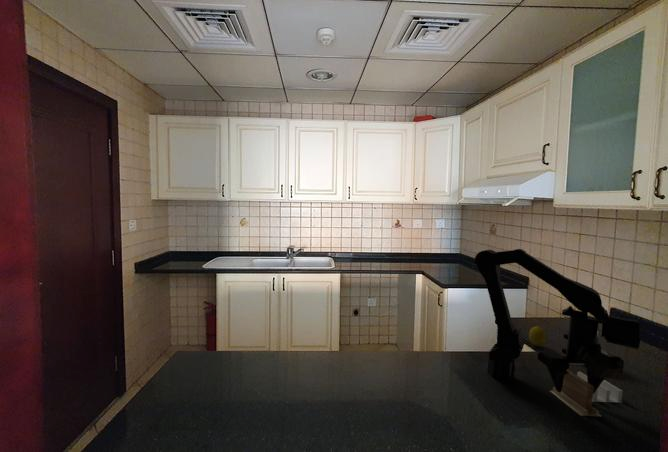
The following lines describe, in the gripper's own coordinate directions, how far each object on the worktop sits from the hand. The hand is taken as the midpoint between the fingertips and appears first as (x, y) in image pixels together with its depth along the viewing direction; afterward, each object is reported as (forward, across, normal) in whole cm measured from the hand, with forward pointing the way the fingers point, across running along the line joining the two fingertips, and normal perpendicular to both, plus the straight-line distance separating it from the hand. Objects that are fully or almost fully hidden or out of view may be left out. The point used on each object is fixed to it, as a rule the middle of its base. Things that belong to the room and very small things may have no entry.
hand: (574, 392), depth 79 cm
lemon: (+4, +17, +36) cm, 40 cm away
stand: (+4, 0, 0) cm, 4 cm away
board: (+3, 0, 0) cm, 3 cm away
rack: (+4, +9, +6) cm, 11 cm away
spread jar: (+4, +27, +24) cm, 36 cm away
